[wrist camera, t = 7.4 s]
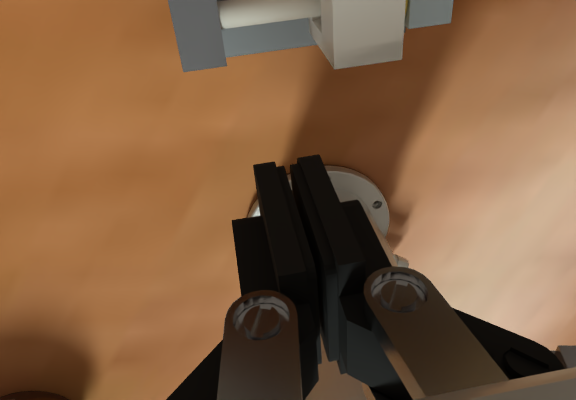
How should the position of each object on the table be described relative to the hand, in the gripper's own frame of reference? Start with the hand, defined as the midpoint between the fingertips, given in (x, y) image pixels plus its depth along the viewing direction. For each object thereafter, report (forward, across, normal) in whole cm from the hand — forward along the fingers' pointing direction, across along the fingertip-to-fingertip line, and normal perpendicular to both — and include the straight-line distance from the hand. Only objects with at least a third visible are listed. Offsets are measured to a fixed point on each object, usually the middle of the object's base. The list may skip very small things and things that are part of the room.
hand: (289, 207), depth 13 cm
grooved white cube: (+20, -6, 0) cm, 21 cm away
